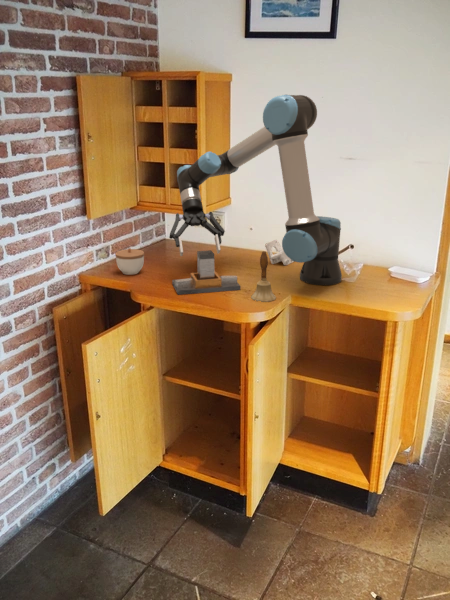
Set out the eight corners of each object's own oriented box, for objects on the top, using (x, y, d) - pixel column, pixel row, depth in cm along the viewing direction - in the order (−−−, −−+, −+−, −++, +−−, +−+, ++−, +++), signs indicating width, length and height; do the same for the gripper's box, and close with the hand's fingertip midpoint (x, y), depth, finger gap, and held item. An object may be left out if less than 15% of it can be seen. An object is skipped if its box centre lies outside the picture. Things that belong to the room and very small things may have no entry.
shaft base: (231, 279, 206) (231, 269, 205) (240, 289, 195) (240, 278, 194) (172, 283, 201) (172, 273, 200) (177, 294, 190) (177, 283, 189)
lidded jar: (144, 267, 220) (143, 244, 217) (145, 275, 210) (144, 251, 207) (116, 268, 218) (115, 245, 215) (116, 277, 208) (114, 252, 205)
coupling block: (211, 280, 200) (211, 250, 197) (214, 284, 196) (214, 254, 192) (197, 281, 199) (197, 251, 196) (200, 285, 195) (200, 254, 191)
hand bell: (258, 303, 183) (259, 256, 177) (247, 295, 190) (247, 249, 184) (280, 300, 186) (282, 253, 180) (268, 292, 193) (270, 247, 187)
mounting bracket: (287, 262, 234) (279, 238, 233) (300, 258, 230) (291, 233, 229) (273, 269, 225) (264, 244, 224) (286, 265, 221) (277, 239, 220)
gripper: (222, 207, 216) (232, 255, 207) (157, 210, 210) (165, 260, 201) (225, 196, 209) (236, 245, 201) (159, 198, 203) (166, 249, 195)
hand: (200, 252), depth 201 cm, fingers open, 13 cm apart
